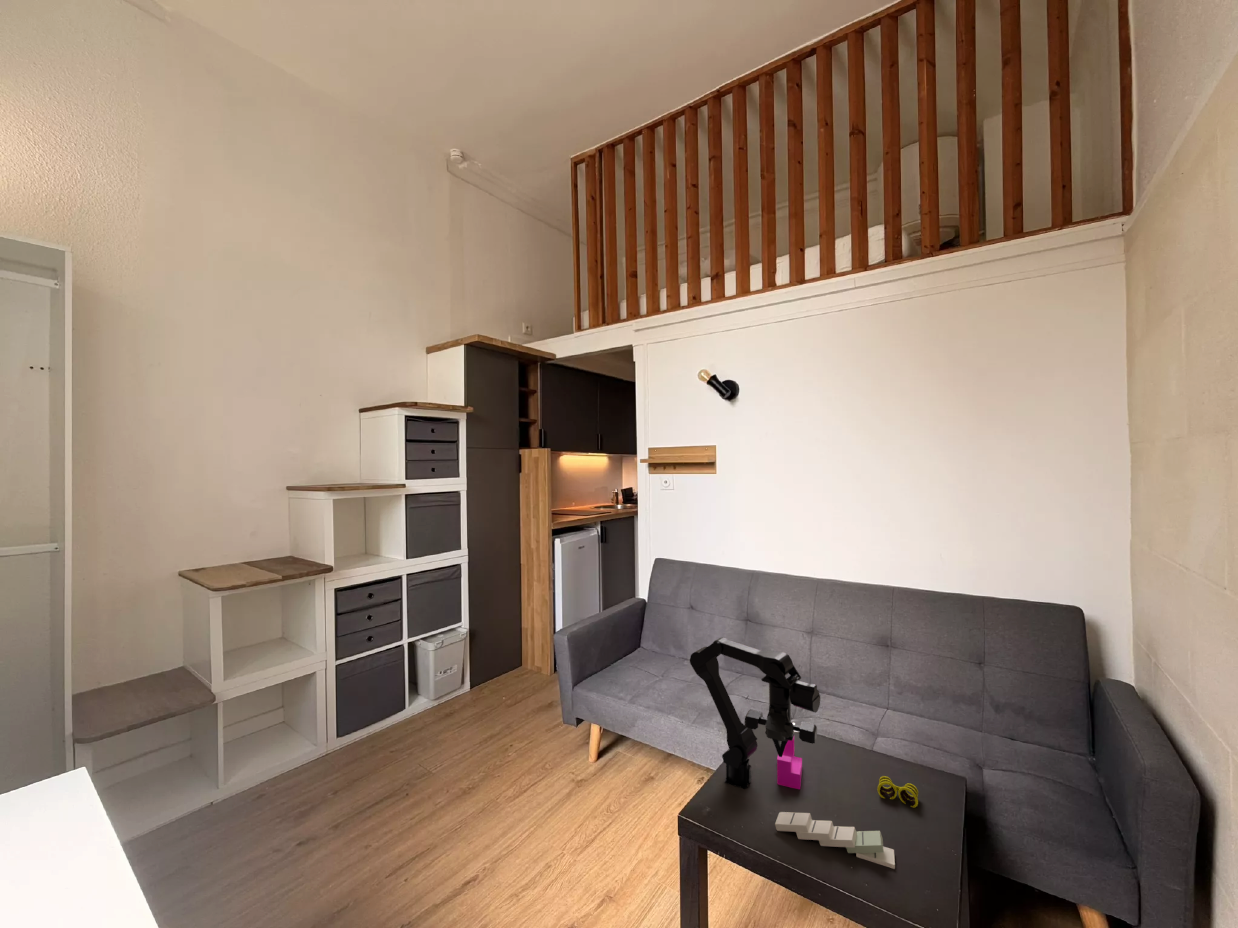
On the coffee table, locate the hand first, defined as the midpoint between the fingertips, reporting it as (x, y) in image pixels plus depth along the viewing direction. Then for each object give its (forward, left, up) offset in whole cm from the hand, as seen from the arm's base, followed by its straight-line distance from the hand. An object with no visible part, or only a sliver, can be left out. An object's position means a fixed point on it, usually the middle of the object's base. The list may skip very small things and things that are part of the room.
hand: (780, 755), depth 136 cm
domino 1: (+1, -10, -11) cm, 15 cm away
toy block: (0, +14, -12) cm, 19 cm away
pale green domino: (+17, -10, -11) cm, 23 cm away
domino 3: (+11, -10, -11) cm, 19 cm away
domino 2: (+6, -11, -11) cm, 17 cm away
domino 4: (+19, -10, -12) cm, 25 cm away
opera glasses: (+29, +15, -12) cm, 35 cm away
